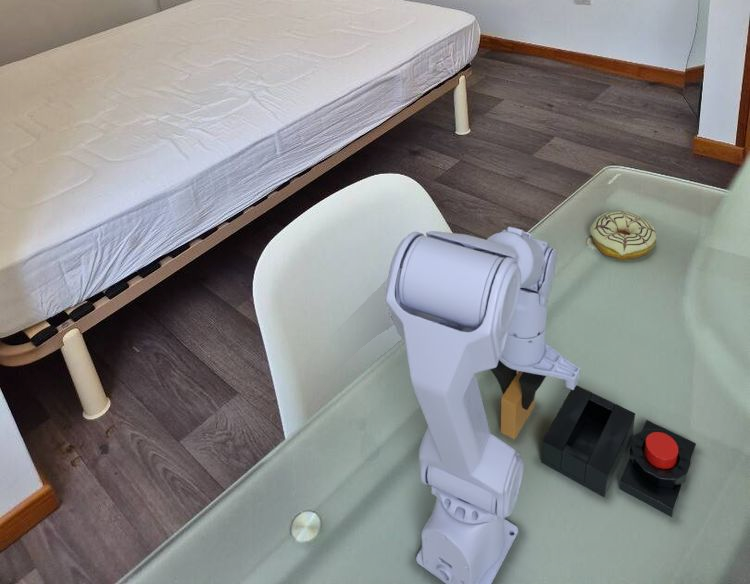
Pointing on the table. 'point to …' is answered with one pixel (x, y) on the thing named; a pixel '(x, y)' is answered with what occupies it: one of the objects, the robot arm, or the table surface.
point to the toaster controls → (656, 472)
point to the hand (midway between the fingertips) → (518, 398)
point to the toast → (514, 409)
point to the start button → (661, 450)
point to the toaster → (588, 439)
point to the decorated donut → (623, 235)
